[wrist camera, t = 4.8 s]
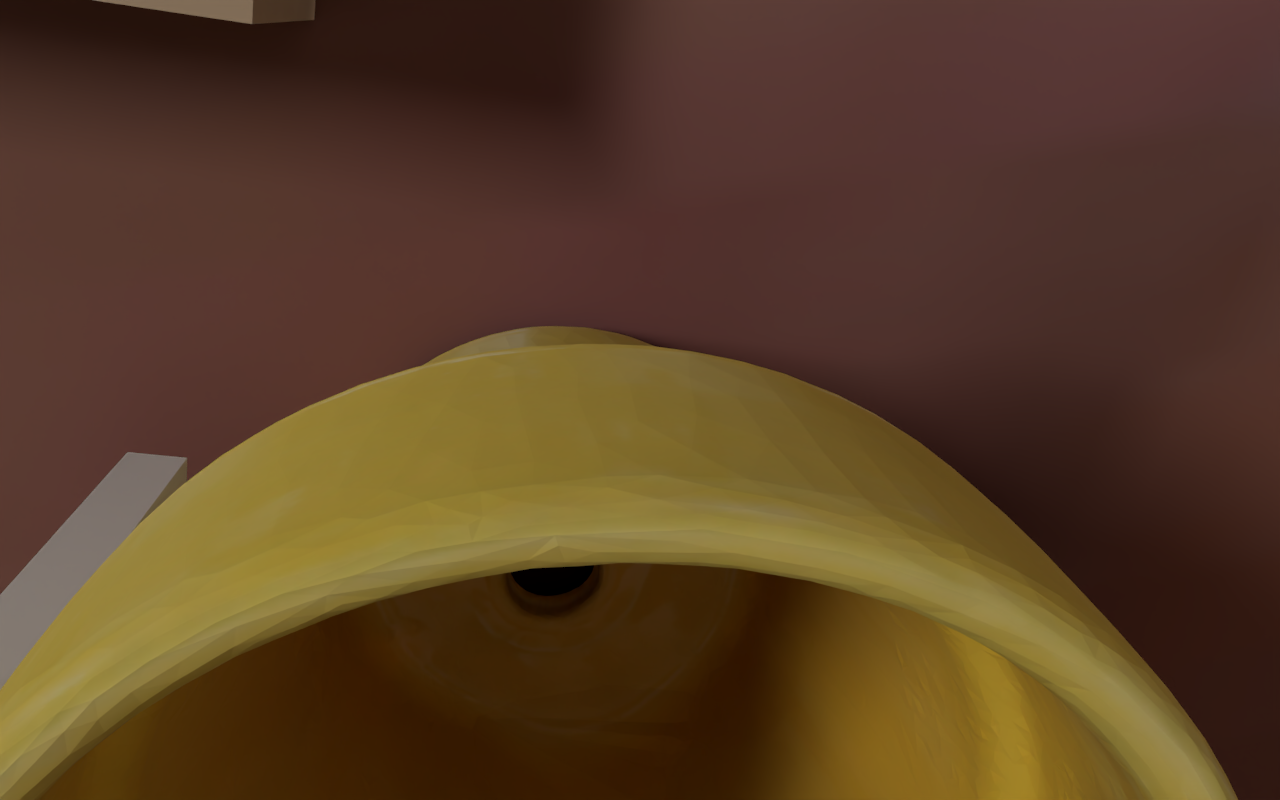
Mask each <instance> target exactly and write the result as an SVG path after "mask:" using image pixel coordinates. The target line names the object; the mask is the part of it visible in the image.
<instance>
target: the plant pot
mask: <svg viewBox="0 0 1280 800" xmlns="http://www.w3.org/2000/svg"><path fill="white" fill-rule="evenodd" d="M588 565H594V568H593V571H592V573H591V575H590V576H589V578H588V579H587V580H586V581H585V582H584V583H583V584H582V585H581V586H579V587H577V588H575V589H573V590H572V591H570V592H567V593H563V594H559V595H553V596H543V595H536V594H533V593H531V592H528V591H526V590H525V589H523V588H522V587H520V586H519V585H518V584H517V583H516V582H515V580H514V578H513V576H512V574H511V572H514V571H520V570H526V569H531V568H550V567H571V566H588ZM0 800H1238V798H1237V796H1236V794H1235V792H1234V790H1233V788H1232V786H1231V784H1230V782H1229V780H1228V778H1227V776H1226V774H1225V772H1224V771H1223V769H1222V767H1221V765H1220V764H1219V762H1218V760H1217V758H1216V757H1215V755H1214V753H1213V752H1212V750H1211V748H1210V746H1209V745H1208V743H1207V741H1206V739H1205V738H1204V737H1203V735H1202V734H1201V732H1200V731H1199V730H1198V728H1197V727H1196V725H1195V724H1194V723H1193V721H1192V720H1191V719H1190V717H1189V716H1188V715H1187V713H1186V712H1185V711H1184V709H1183V708H1182V707H1181V705H1180V704H1179V703H1178V701H1177V700H1176V698H1175V697H1174V696H1173V694H1172V693H1171V692H1170V690H1169V689H1168V688H1167V687H1166V686H1165V684H1164V683H1163V682H1162V681H1161V680H1160V678H1159V677H1158V676H1157V675H1156V674H1155V673H1154V671H1153V670H1152V669H1151V668H1150V667H1149V666H1148V665H1147V663H1146V662H1145V661H1144V660H1143V659H1142V658H1141V657H1140V655H1139V654H1138V653H1137V652H1136V651H1135V650H1134V649H1133V647H1132V646H1131V645H1130V644H1129V643H1128V642H1127V641H1126V639H1125V638H1124V637H1123V636H1122V635H1121V634H1120V633H1119V631H1118V630H1117V629H1116V628H1115V627H1114V626H1113V625H1112V624H1111V623H1110V622H1109V621H1108V620H1107V619H1106V617H1105V616H1104V615H1103V614H1102V613H1101V612H1100V611H1099V610H1098V609H1097V608H1096V607H1095V606H1094V604H1093V603H1092V602H1091V601H1090V600H1089V599H1088V598H1087V597H1086V596H1085V595H1084V594H1083V593H1082V592H1081V591H1080V589H1079V588H1078V587H1077V586H1076V585H1075V584H1074V583H1073V582H1072V581H1071V580H1070V579H1069V578H1068V577H1067V576H1066V575H1065V574H1064V572H1063V571H1062V570H1061V569H1060V568H1059V567H1058V566H1057V565H1056V564H1055V563H1054V562H1053V561H1052V560H1051V559H1050V558H1049V557H1048V556H1047V554H1046V553H1045V552H1044V551H1043V550H1042V549H1041V548H1040V547H1039V546H1038V545H1037V544H1036V543H1035V542H1033V541H1032V540H1031V539H1030V538H1029V537H1028V536H1027V535H1026V534H1025V533H1024V532H1023V531H1022V530H1021V529H1020V528H1019V527H1018V526H1017V525H1016V524H1015V523H1014V522H1013V521H1012V520H1011V519H1010V518H1009V517H1008V516H1007V515H1005V514H1004V513H1003V512H1002V511H1001V510H1000V509H999V508H998V507H996V506H995V505H994V504H993V503H992V502H991V501H990V500H989V499H987V498H986V497H985V496H984V495H983V494H982V493H981V492H980V491H978V490H977V489H976V488H975V487H974V486H973V485H972V484H970V483H969V482H968V481H967V480H966V479H965V478H964V477H962V476H961V475H960V474H959V473H958V472H957V471H956V470H954V469H953V468H952V467H951V466H949V465H948V464H947V463H946V462H944V461H943V460H942V459H940V458H939V457H938V456H936V455H935V454H934V453H933V452H931V451H930V450H929V449H927V448H926V447H925V446H924V445H922V444H921V443H920V442H918V441H917V440H915V439H914V438H912V437H911V436H909V435H907V434H906V433H904V432H903V431H901V430H900V429H898V428H897V427H895V426H893V425H892V424H890V423H889V422H887V421H885V420H884V419H882V418H881V417H879V416H877V415H876V414H874V413H872V412H870V411H868V410H866V409H864V408H862V407H860V406H858V405H857V404H855V403H853V402H851V401H849V400H847V399H845V398H843V397H841V396H839V395H837V394H834V393H832V392H829V391H827V390H824V389H822V388H819V387H817V386H814V385H812V384H809V383H807V382H804V381H802V380H799V379H796V378H794V377H791V376H789V375H786V374H784V373H780V372H777V371H773V370H770V369H766V368H763V367H759V366H756V365H752V364H749V363H746V362H742V361H737V360H733V359H728V358H723V357H718V356H713V355H708V354H703V353H698V352H693V351H685V350H678V349H670V348H663V347H656V346H653V345H650V344H648V343H645V342H643V341H640V340H638V339H635V338H633V337H629V336H626V335H622V334H618V333H614V332H608V331H603V330H598V329H592V328H587V327H567V326H541V327H528V328H520V329H514V330H510V331H505V332H500V333H496V334H492V335H489V336H485V337H482V338H479V339H476V340H473V341H471V342H468V343H465V344H463V345H460V346H458V347H456V348H454V349H452V350H450V351H447V352H445V353H443V354H441V355H439V356H437V357H436V358H434V359H432V360H431V361H429V362H428V363H426V364H424V365H423V366H419V367H415V368H411V369H408V370H405V371H402V372H398V373H395V374H392V375H389V376H386V377H383V378H379V379H376V380H373V381H370V382H367V383H364V384H361V385H358V386H356V387H353V388H351V389H349V390H346V391H344V392H341V393H339V394H337V395H334V396H332V397H329V398H327V399H325V400H322V401H320V402H317V403H315V404H313V405H310V406H308V407H306V408H304V409H302V410H300V411H298V412H296V413H294V414H292V415H290V416H288V417H286V418H284V419H282V420H280V421H278V422H276V423H274V424H273V425H271V426H269V427H268V428H266V429H264V430H262V431H261V432H259V433H257V434H256V435H254V436H252V437H251V438H249V439H247V440H246V441H244V442H243V443H241V444H239V445H238V446H236V447H235V448H233V449H231V450H230V451H228V452H227V453H225V454H223V455H222V456H220V457H219V458H218V459H216V460H215V461H214V462H212V463H211V464H210V465H208V466H207V467H206V468H204V469H203V470H202V471H200V472H199V473H198V474H196V475H195V476H194V477H192V478H191V479H190V480H188V481H187V482H186V483H184V484H183V485H182V486H181V487H179V488H178V489H177V490H176V491H175V492H174V493H173V494H172V495H170V496H169V497H168V498H167V499H166V500H165V501H164V502H163V503H162V504H161V505H160V506H158V507H157V508H156V509H155V510H154V511H153V512H152V513H151V514H150V515H149V516H148V517H146V518H145V519H144V520H143V521H142V522H141V523H140V524H139V525H138V526H137V527H136V528H135V529H134V530H133V531H132V533H131V534H130V535H129V536H128V537H127V538H126V539H125V540H124V541H123V542H122V543H121V544H120V545H119V546H118V548H117V549H116V550H115V551H114V552H113V553H112V554H111V555H110V556H109V557H108V558H107V559H106V560H105V562H104V563H103V564H102V565H101V566H100V567H99V568H98V569H97V570H96V571H95V573H94V574H93V575H92V576H91V577H90V578H89V579H88V581H87V582H86V583H85V584H84V585H83V586H82V587H81V588H80V590H79V591H78V592H77V593H76V594H75V595H74V596H73V598H72V599H71V600H70V601H69V602H68V604H67V605H66V606H65V607H64V609H63V610H62V611H61V612H60V614H59V615H58V616H57V617H56V619H55V620H54V621H53V622H52V624H51V625H50V626H49V627H48V629H47V630H46V631H45V632H44V634H43V635H42V636H41V637H40V639H39V640H38V641H37V642H36V644H35V645H34V646H33V648H32V649H31V650H30V651H29V653H28V654H27V655H26V656H25V658H24V659H23V660H22V661H21V663H20V664H19V665H18V667H17V668H16V669H15V671H14V672H13V674H12V675H11V676H10V678H9V679H8V680H7V682H6V683H5V684H4V686H3V687H2V688H1V690H0Z"/></svg>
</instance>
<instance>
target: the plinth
mask: <svg viewBox="0 0 1280 800" xmlns="http://www.w3.org/2000/svg"><path fill="white" fill-rule="evenodd" d="M94 1H101V2H108V3H114V4H121V5H128V6H134V7H141V8H148V9H154V10H161V11H168V12H174V13H181V14H188V15H194V16H201V17H208V18H214V19H221V20H228V21H234V22H241V23H248V24H262V23H277V22H291V21H306V20H314V19H315V0H94Z"/></svg>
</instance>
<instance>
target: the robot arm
mask: <svg viewBox="0 0 1280 800" xmlns="http://www.w3.org/2000/svg"><path fill="white" fill-rule="evenodd" d="M186 482H187V458H183V457H173V456H162V455H152V454H142V453H132V452H127V453H126V454H125V455H124V457H123V458H122V459H121V460H120V461H119V462H118V463H117V464H116V466H115V467H114V468H113V469H112V470H111V471H110V472H109V473H108V475H107V476H106V477H105V478H104V479H103V480H102V481H101V482H100V483H99V485H98V486H97V487H96V488H95V489H94V490H93V491H92V492H91V494H90V495H89V496H88V497H87V498H86V499H85V500H84V501H83V503H82V504H81V505H80V506H79V507H78V508H77V509H76V510H75V512H74V513H73V514H72V515H71V516H70V517H69V518H68V519H67V521H66V522H65V523H64V524H63V525H62V526H61V527H60V528H59V529H58V531H57V532H56V533H55V534H54V535H53V536H52V537H51V538H50V540H49V541H48V542H47V543H46V544H45V545H44V546H43V547H42V549H41V550H40V551H39V552H38V553H37V554H36V555H35V556H34V558H33V559H32V560H31V561H30V562H29V563H28V564H27V565H26V566H25V568H24V569H23V570H22V571H21V572H20V573H19V574H18V575H17V577H16V578H15V579H14V580H13V581H12V582H11V583H10V584H9V586H8V587H7V588H6V589H5V590H4V591H3V592H2V593H1V595H0V690H1V688H2V687H3V686H4V684H5V683H6V682H7V680H8V679H9V678H10V676H11V675H12V674H13V672H14V671H15V669H16V668H17V667H18V665H19V664H20V663H21V661H22V660H23V659H24V658H25V656H26V655H27V654H28V653H29V651H30V650H31V649H32V648H33V646H34V645H35V644H36V642H37V641H38V640H39V639H40V637H41V636H42V635H43V634H44V632H45V631H46V630H47V629H48V627H49V626H50V625H51V624H52V622H53V621H54V620H55V619H56V617H57V616H58V615H59V614H60V612H61V611H62V610H63V609H64V607H65V606H66V605H67V604H68V602H69V601H70V600H71V599H72V598H73V596H74V595H75V594H76V593H77V592H78V591H79V590H80V588H81V587H82V586H83V585H84V584H85V583H86V582H87V581H88V579H89V578H90V577H91V576H92V575H93V574H94V573H95V571H96V570H97V569H98V568H99V567H100V566H101V565H102V564H103V563H104V562H105V560H106V559H107V558H108V557H109V556H110V555H111V554H112V553H113V552H114V551H115V550H116V549H117V548H118V546H119V545H120V544H121V543H122V542H123V541H124V540H125V539H126V538H127V537H128V536H129V535H130V534H131V533H132V531H133V530H134V529H135V528H136V527H137V526H138V525H139V524H140V523H141V522H142V521H143V520H144V519H145V518H146V517H148V516H149V515H150V514H151V513H152V512H153V511H154V510H155V509H156V508H157V507H158V506H160V505H161V504H162V503H163V502H164V501H165V500H166V499H167V498H168V497H169V496H170V495H172V494H173V493H174V492H175V491H176V490H177V489H178V488H179V487H181V486H182V485H183V484H184V483H186Z"/></svg>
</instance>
